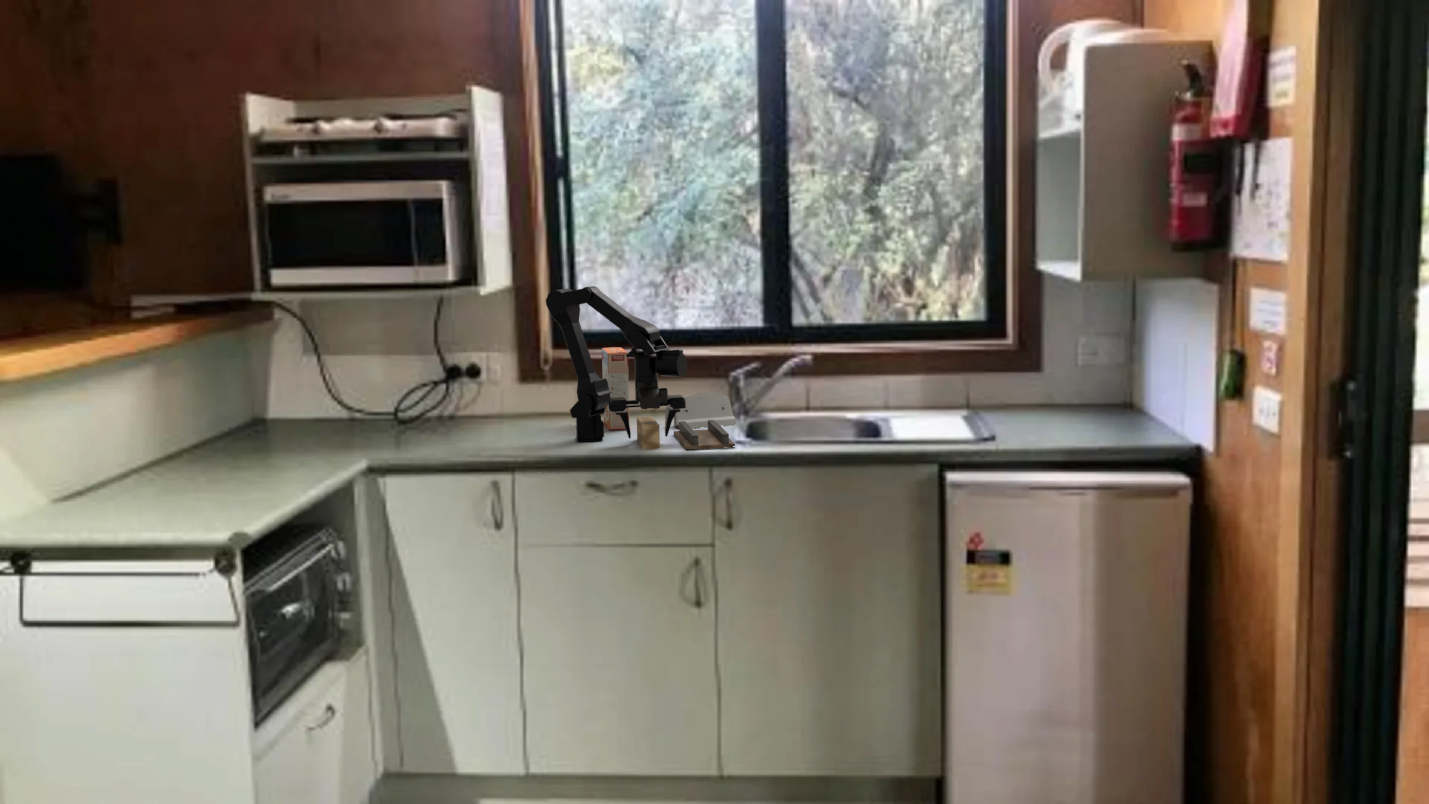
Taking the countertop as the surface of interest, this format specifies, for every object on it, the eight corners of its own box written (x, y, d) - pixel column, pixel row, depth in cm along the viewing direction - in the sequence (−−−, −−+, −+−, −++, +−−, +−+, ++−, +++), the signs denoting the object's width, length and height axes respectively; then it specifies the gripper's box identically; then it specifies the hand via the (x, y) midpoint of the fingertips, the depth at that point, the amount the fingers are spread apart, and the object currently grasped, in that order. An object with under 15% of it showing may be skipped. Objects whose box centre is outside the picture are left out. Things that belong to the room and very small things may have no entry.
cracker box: (631, 429, 355) (628, 351, 351) (608, 431, 353) (605, 352, 350) (624, 421, 368) (622, 346, 365) (603, 422, 367) (600, 347, 364)
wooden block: (643, 450, 326) (643, 426, 325) (637, 440, 340) (636, 417, 339) (659, 449, 327) (659, 425, 326) (652, 439, 341) (652, 416, 340)
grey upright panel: (678, 429, 353) (673, 392, 355) (673, 433, 358) (669, 396, 360) (737, 425, 359) (732, 388, 361) (732, 428, 363) (727, 392, 365)
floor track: (686, 450, 324) (686, 436, 323) (673, 434, 345) (673, 421, 345) (735, 447, 326) (734, 433, 325) (719, 432, 347) (719, 419, 347)
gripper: (611, 381, 321) (613, 444, 324) (688, 378, 325) (689, 441, 327) (607, 375, 332) (609, 437, 335) (681, 372, 335) (683, 433, 338)
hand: (647, 437), depth 333 cm, fingers open, 9 cm apart
